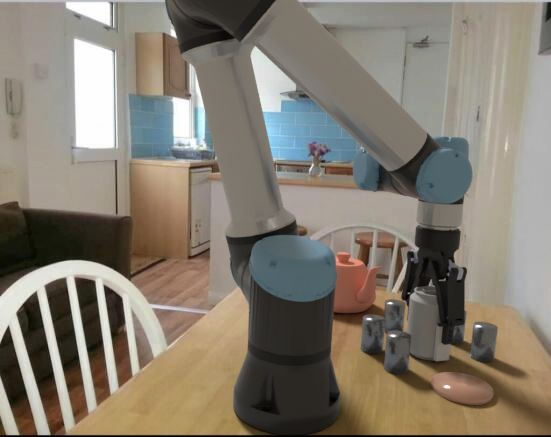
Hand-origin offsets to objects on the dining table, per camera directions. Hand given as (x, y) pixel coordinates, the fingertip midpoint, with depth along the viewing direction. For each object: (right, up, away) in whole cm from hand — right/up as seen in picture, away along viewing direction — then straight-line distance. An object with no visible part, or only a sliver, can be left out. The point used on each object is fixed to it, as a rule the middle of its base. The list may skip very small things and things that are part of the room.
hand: (426, 350), depth 91 cm
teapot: (-12, +3, +24) cm, 27 cm away
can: (0, -1, 0) cm, 1 cm away
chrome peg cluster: (-1, 0, +3) cm, 4 cm away
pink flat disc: (+2, -3, -13) cm, 13 cm away
